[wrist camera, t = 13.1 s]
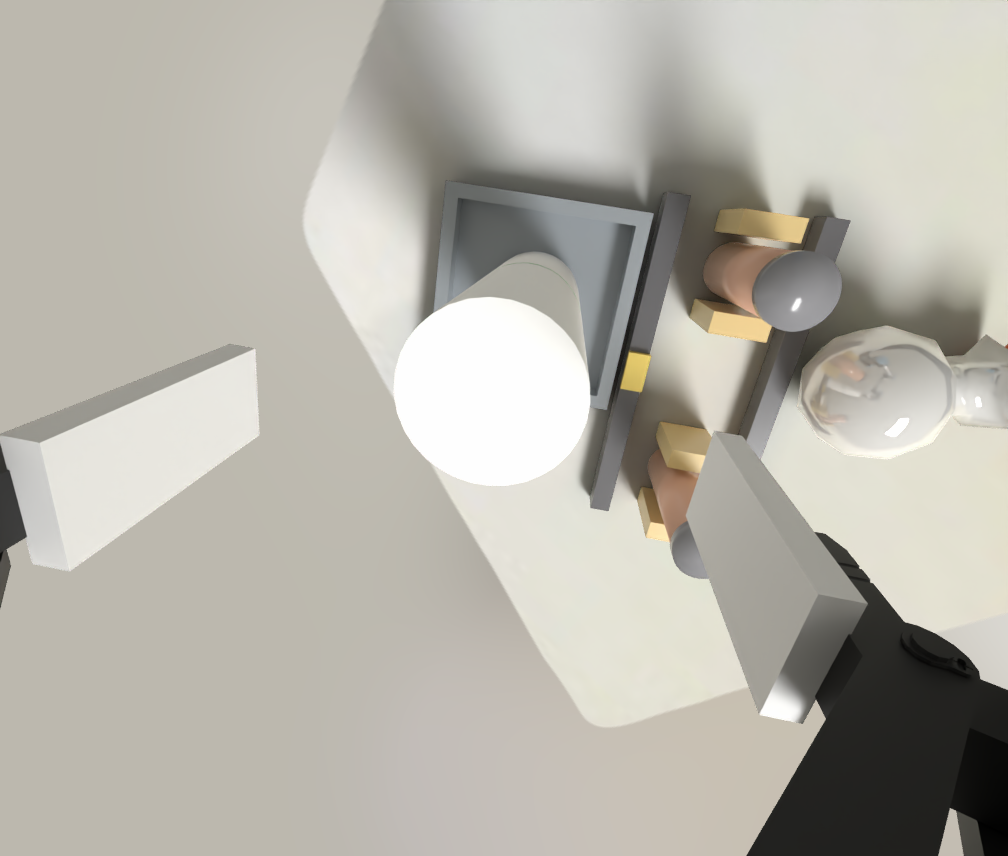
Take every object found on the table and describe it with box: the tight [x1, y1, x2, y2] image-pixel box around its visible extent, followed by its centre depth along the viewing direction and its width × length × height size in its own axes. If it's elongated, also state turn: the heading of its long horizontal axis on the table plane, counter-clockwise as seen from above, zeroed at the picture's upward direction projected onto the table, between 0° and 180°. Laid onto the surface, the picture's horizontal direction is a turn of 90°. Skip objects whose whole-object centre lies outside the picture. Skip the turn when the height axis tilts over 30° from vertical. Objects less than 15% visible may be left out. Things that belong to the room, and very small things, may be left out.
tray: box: [433, 180, 654, 410], centre depth 41 cm, size 15×15×2 cm
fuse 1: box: [647, 449, 709, 579], centre depth 41 cm, size 4×4×13 cm
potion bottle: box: [797, 325, 1008, 459], centre depth 38 cm, size 9×10×15 cm
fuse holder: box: [590, 192, 851, 542], centre depth 40 cm, size 26×13×6 cm, turn 172°
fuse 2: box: [703, 242, 842, 332], centre depth 34 cm, size 4×4×13 cm
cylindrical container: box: [394, 251, 590, 486], centre depth 30 cm, size 7×7×25 cm
